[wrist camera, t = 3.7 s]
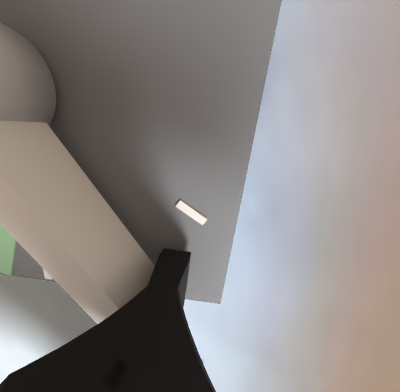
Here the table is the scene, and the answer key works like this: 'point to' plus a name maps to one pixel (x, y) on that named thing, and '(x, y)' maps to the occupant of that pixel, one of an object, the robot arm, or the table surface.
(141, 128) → the dial base
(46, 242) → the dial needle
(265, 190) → the table surface
